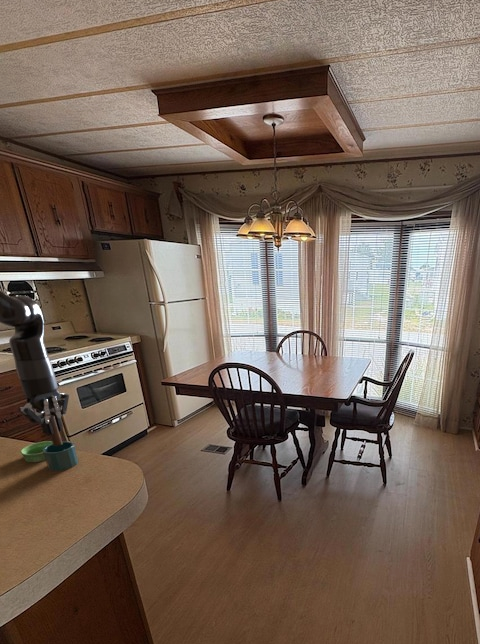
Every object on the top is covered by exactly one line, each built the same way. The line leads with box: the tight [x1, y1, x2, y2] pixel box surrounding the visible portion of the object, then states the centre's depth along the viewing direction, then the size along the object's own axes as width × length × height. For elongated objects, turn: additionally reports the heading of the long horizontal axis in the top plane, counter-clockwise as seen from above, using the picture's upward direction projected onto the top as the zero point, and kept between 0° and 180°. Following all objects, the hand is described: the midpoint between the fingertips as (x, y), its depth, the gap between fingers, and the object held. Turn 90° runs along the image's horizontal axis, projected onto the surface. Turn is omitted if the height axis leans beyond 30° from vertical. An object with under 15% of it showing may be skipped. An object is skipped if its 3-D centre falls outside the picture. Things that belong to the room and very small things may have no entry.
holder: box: [42, 441, 80, 472], centre depth 102 cm, size 7×7×8 cm
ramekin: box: [20, 440, 53, 463], centre depth 107 cm, size 9×9×4 cm
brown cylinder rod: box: [49, 414, 63, 446], centre depth 98 cm, size 2×2×9 cm
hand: (54, 432), depth 98 cm, fingers closed on brown cylinder rod, 2 cm apart
